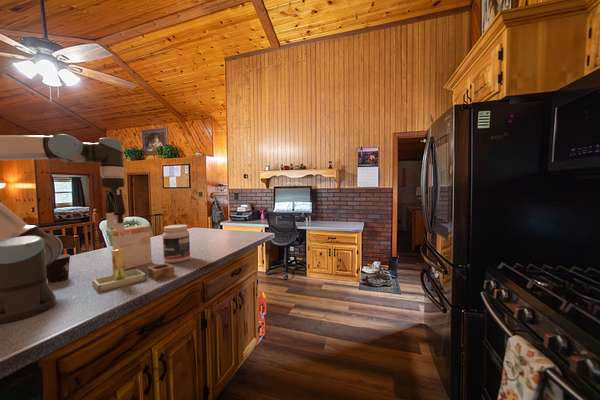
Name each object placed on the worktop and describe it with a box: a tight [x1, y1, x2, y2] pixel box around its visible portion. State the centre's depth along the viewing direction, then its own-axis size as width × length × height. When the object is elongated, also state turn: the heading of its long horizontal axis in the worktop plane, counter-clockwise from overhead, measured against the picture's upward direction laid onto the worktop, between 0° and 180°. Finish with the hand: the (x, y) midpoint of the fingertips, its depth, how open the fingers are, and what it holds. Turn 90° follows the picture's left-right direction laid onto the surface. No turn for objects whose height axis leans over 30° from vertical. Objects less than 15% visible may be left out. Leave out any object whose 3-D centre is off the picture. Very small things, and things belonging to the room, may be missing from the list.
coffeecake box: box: [110, 224, 153, 270], centre depth 126 cm, size 15×7×20 cm, turn 144°
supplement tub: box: [162, 224, 191, 264], centre depth 134 cm, size 13×13×18 cm
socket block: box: [147, 262, 175, 281], centre depth 111 cm, size 8×8×4 cm
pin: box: [111, 249, 126, 281], centre depth 103 cm, size 4×4×13 cm
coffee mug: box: [46, 254, 71, 284], centre depth 110 cm, size 12×9×10 cm
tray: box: [91, 268, 147, 293], centre depth 104 cm, size 16×11×2 cm
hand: (115, 229), depth 103 cm, fingers open, 13 cm apart
